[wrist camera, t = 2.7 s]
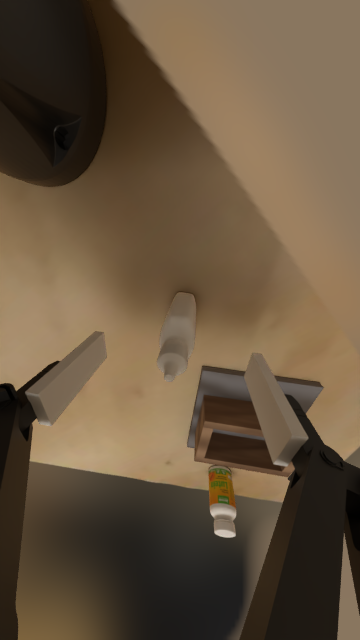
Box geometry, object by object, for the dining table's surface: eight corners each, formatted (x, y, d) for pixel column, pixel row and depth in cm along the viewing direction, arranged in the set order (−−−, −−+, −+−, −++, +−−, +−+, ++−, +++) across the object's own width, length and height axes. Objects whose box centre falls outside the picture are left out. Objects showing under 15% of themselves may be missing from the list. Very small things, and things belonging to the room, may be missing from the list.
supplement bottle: (227, 463, 38) (235, 529, 30) (233, 474, 40) (242, 539, 32) (205, 465, 40) (206, 528, 31) (212, 476, 42) (215, 538, 33)
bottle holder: (202, 365, 26) (203, 395, 21) (319, 382, 25) (348, 417, 20) (187, 441, 36) (185, 473, 31) (270, 455, 35) (282, 491, 30)
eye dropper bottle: (159, 317, 23) (125, 385, 12) (181, 285, 21) (163, 335, 10) (184, 333, 24) (173, 411, 13) (209, 304, 21) (219, 370, 11)
